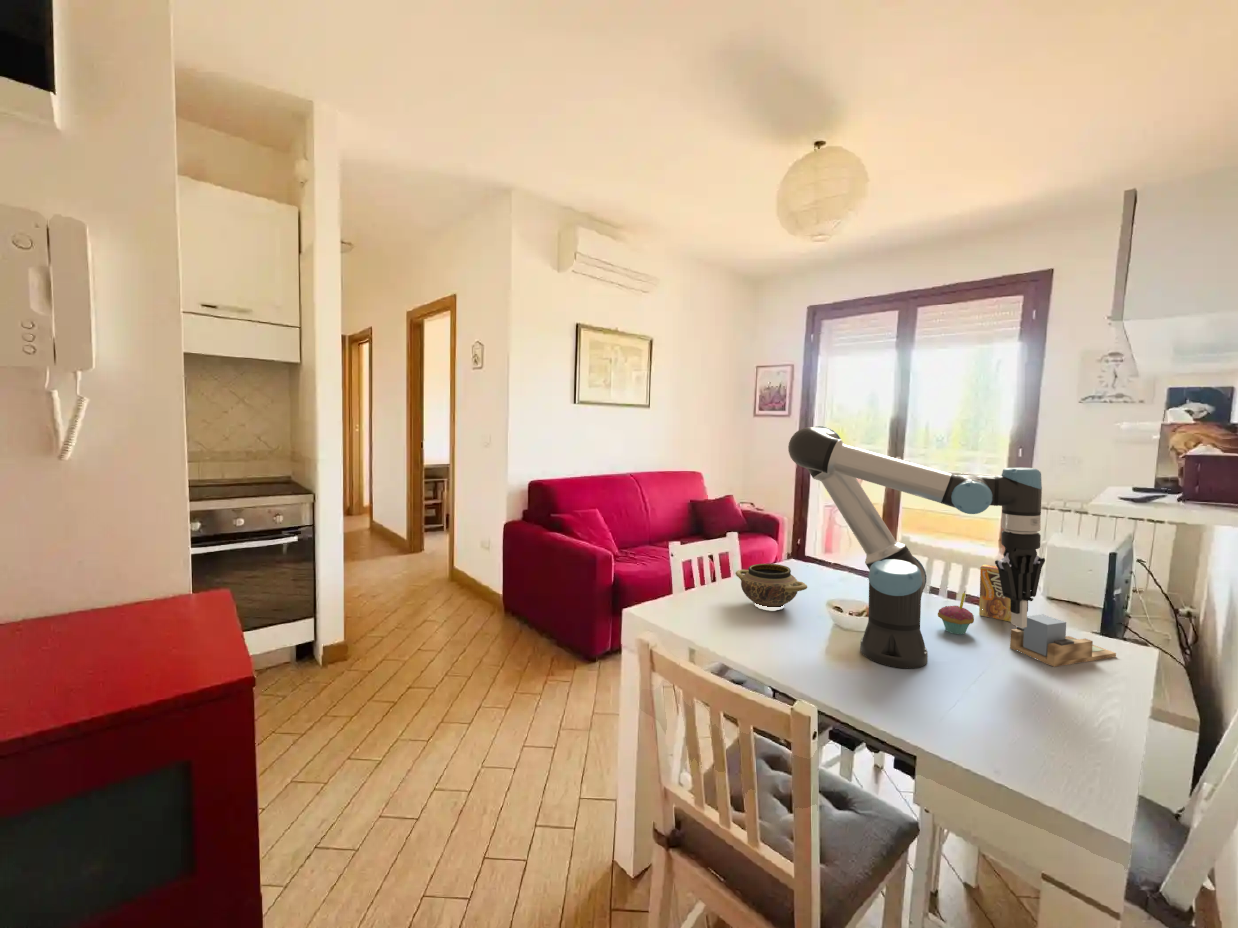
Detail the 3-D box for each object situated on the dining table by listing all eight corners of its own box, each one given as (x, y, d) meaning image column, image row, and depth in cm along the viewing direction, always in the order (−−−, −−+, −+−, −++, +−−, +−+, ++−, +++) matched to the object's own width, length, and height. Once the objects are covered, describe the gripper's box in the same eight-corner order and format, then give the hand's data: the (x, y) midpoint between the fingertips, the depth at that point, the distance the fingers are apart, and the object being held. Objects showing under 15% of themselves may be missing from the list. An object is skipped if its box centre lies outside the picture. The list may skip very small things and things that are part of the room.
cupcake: (968, 627, 147) (969, 586, 146) (978, 639, 139) (979, 596, 138) (934, 624, 150) (935, 584, 149) (941, 635, 141) (943, 593, 141)
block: (1046, 656, 125) (1047, 624, 124) (1023, 646, 130) (1024, 616, 130) (1064, 653, 126) (1066, 622, 126) (1041, 644, 132) (1042, 614, 131)
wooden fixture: (1053, 666, 122) (1054, 644, 122) (1010, 648, 133) (1010, 627, 132) (1115, 656, 127) (1117, 634, 127) (1068, 639, 137) (1069, 619, 137)
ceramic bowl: (814, 620, 161) (821, 573, 162) (784, 620, 150) (792, 569, 151) (749, 601, 180) (756, 559, 181) (718, 600, 168) (725, 555, 170)
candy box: (1017, 619, 152) (1019, 569, 151) (1014, 623, 149) (1016, 572, 148) (981, 612, 158) (983, 563, 157) (978, 615, 156) (980, 566, 154)
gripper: (1014, 535, 119) (1012, 634, 120) (1057, 531, 122) (1055, 627, 123) (984, 530, 126) (983, 622, 128) (1026, 526, 129) (1024, 617, 131)
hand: (1018, 625), depth 126 cm, fingers closed
